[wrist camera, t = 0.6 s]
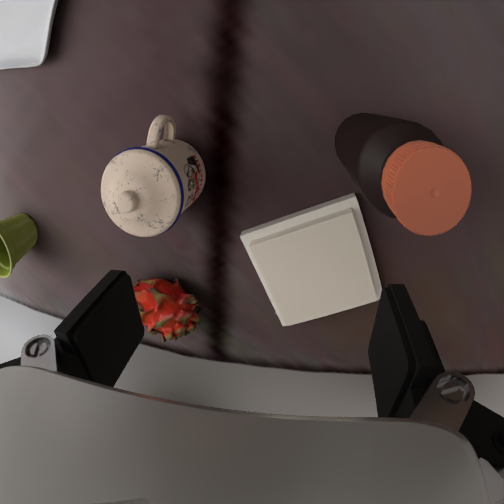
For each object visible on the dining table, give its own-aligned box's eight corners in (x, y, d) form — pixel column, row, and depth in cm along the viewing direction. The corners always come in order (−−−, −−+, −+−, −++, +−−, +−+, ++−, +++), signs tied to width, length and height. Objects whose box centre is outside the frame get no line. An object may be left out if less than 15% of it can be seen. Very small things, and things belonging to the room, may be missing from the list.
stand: (353, 192, 34) (358, 200, 32) (381, 291, 39) (386, 304, 37) (242, 231, 39) (237, 241, 36) (283, 319, 44) (282, 333, 41)
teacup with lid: (201, 216, 39) (165, 261, 28) (136, 200, 39) (84, 236, 29) (220, 119, 33) (183, 128, 23) (147, 107, 33) (89, 115, 23)
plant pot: (22, 256, 47) (-8, 279, 39) (5, 208, 43) (-29, 228, 36) (52, 251, 45) (19, 277, 38) (33, 198, 41) (-4, 218, 34)
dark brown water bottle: (324, 125, 32) (353, 152, 14) (380, 104, 30) (469, 111, 12) (347, 181, 34) (393, 269, 16) (401, 161, 32) (493, 228, 14)
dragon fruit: (216, 304, 46) (147, 275, 48) (210, 283, 39) (130, 250, 40) (192, 357, 43) (122, 322, 44) (180, 346, 35) (99, 305, 37)
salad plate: (91, -61, 22) (78, -68, 19) (57, 65, 32) (41, 65, 29) (6, -29, 23) (-7, -31, 20) (-18, 76, 33) (-32, 78, 30)
